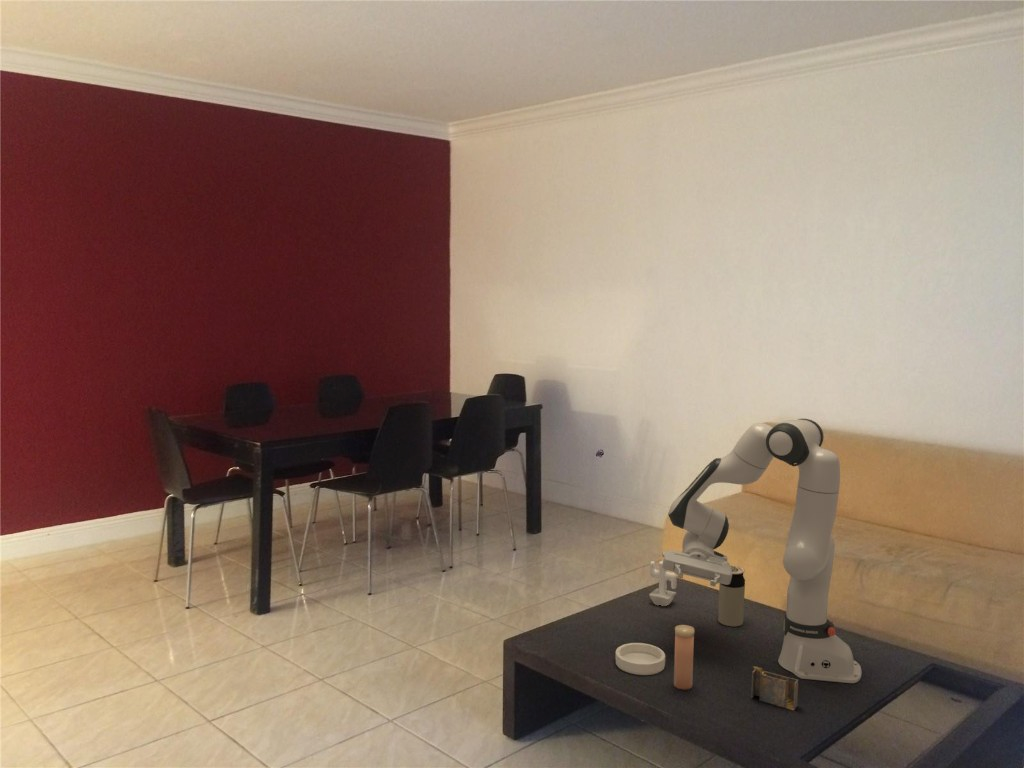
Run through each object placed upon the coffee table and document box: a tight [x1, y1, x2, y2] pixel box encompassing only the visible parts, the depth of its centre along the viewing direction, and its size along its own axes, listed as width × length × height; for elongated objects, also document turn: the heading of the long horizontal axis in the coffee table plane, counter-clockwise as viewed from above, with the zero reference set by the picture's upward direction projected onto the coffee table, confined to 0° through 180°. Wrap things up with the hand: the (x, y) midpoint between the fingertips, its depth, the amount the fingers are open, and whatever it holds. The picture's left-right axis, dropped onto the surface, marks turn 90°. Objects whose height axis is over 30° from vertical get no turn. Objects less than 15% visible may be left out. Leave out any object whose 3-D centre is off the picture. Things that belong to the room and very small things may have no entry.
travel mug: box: [717, 564, 746, 628], centre depth 270 cm, size 8×8×18 cm
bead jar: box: [673, 624, 695, 691], centre depth 228 cm, size 5×5×16 cm
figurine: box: [649, 559, 678, 607], centre depth 286 cm, size 7×9×15 cm
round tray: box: [615, 642, 666, 676], centre depth 241 cm, size 14×14×3 cm
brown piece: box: [750, 665, 799, 711], centre depth 219 cm, size 11×3×10 cm, turn 57°
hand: (696, 579), depth 239 cm, fingers open, 8 cm apart
